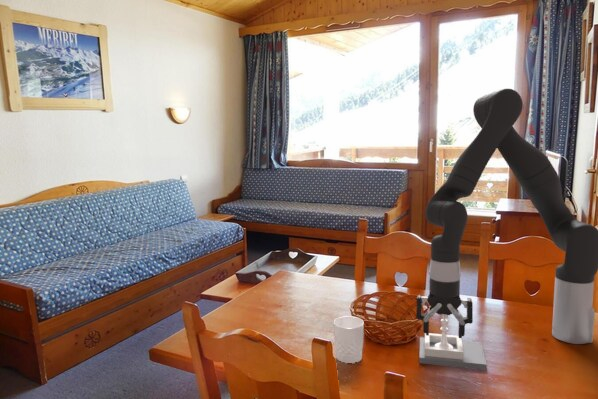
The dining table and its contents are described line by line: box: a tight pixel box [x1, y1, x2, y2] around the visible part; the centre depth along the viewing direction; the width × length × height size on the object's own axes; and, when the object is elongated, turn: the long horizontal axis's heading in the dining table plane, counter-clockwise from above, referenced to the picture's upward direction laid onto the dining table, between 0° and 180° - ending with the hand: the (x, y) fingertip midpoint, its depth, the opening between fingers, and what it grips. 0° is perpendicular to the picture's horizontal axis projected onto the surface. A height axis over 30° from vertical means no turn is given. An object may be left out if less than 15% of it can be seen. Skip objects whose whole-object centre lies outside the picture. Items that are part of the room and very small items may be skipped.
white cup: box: [333, 315, 365, 364], centre depth 120 cm, size 8×8×10 cm
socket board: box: [418, 332, 487, 371], centre depth 120 cm, size 16×12×4 cm
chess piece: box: [434, 314, 453, 349], centre depth 120 cm, size 5×5×10 cm
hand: (443, 335), depth 120 cm, fingers open, 8 cm apart
